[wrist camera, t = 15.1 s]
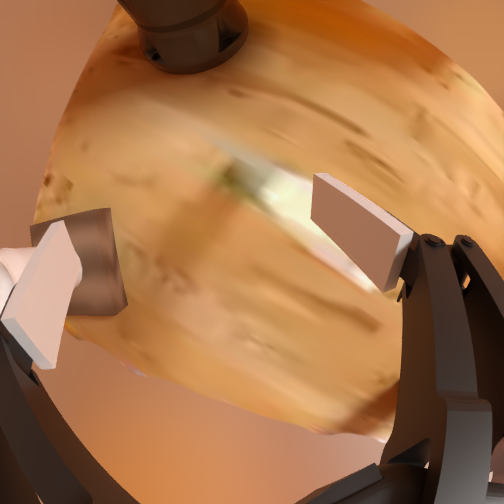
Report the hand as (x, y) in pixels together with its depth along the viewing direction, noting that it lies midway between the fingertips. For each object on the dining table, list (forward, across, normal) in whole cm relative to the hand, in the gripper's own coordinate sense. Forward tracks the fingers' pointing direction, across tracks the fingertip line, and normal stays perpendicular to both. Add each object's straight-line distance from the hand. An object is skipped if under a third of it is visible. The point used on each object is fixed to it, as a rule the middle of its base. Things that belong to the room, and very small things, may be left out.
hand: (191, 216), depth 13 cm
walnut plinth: (+22, -17, -14) cm, 32 cm away
